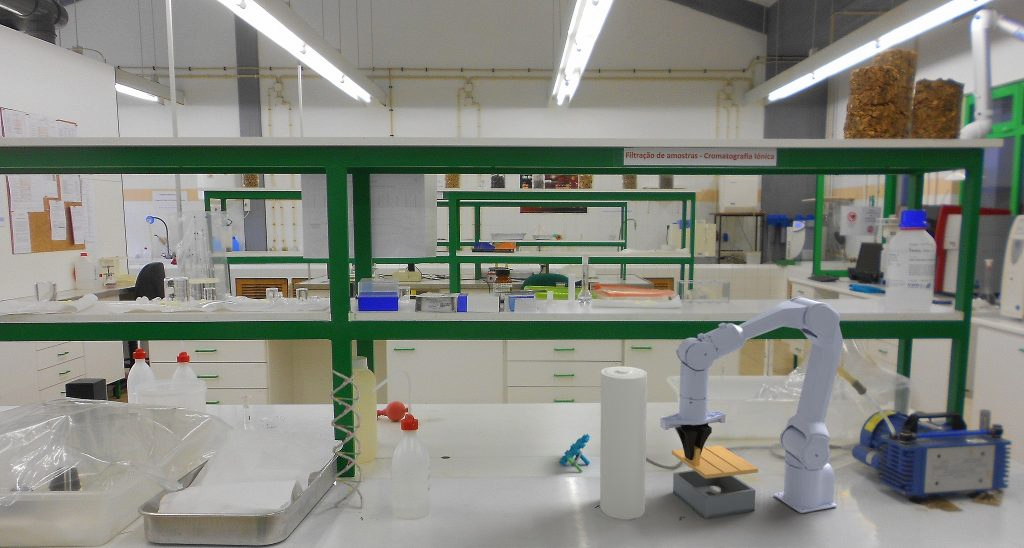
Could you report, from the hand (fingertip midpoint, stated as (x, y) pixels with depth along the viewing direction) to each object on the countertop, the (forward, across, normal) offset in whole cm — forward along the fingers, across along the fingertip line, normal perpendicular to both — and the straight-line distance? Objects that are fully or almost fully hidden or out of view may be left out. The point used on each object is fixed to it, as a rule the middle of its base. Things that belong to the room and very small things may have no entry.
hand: (692, 457), depth 121 cm
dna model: (+11, +71, -20) cm, 74 cm away
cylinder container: (+11, +15, -3) cm, 18 cm away
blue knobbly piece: (+11, +16, -26) cm, 32 cm away
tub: (+10, -5, 0) cm, 12 cm away
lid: (+2, -5, 0) cm, 6 cm away
